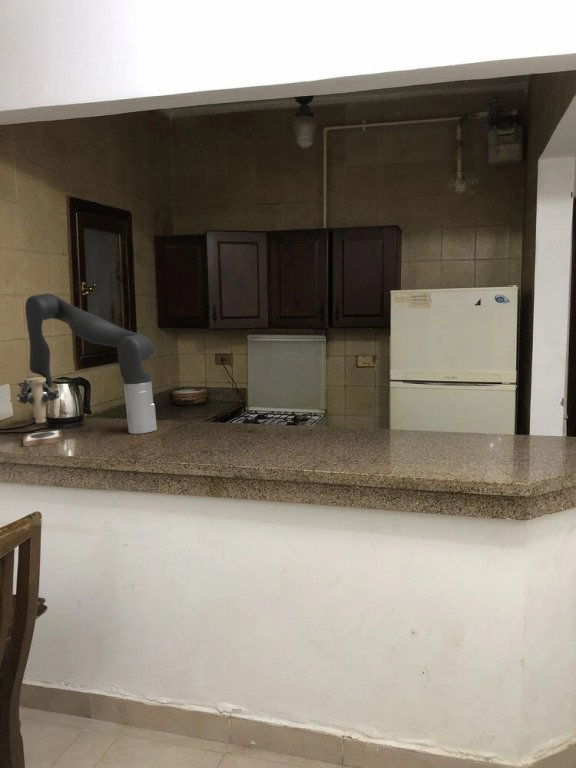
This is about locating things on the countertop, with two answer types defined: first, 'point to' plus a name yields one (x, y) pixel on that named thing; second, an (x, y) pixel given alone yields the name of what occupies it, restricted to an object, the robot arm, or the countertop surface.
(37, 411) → the handle
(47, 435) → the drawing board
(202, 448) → the countertop surface
